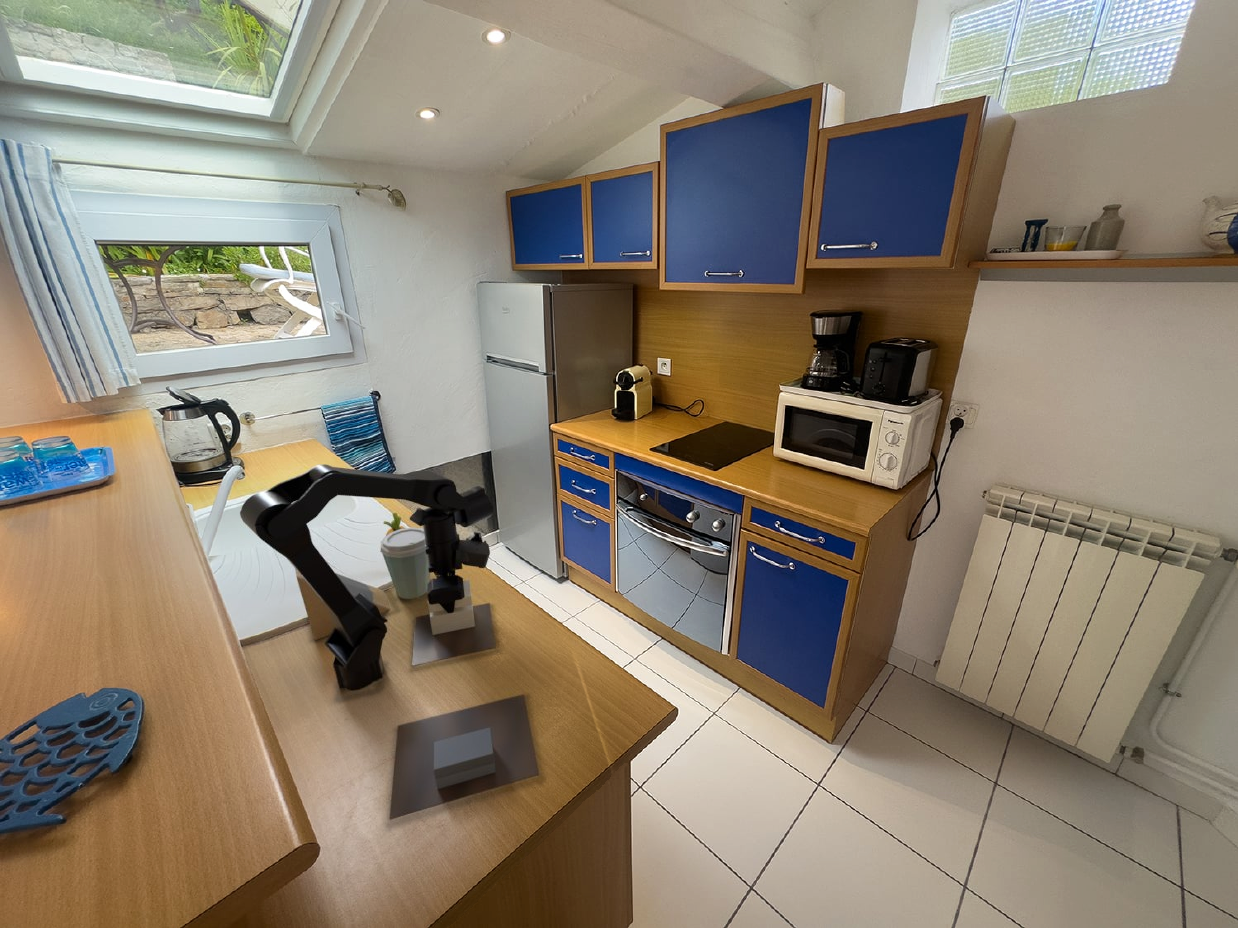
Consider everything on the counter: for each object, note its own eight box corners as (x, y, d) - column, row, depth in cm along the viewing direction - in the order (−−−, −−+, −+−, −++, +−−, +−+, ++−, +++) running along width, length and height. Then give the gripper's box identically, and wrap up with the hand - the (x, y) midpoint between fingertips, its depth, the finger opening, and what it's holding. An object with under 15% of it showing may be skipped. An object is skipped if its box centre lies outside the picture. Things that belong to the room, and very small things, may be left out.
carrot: (407, 577, 116) (397, 521, 110) (388, 574, 117) (377, 519, 111) (419, 565, 121) (410, 511, 115) (400, 562, 121) (391, 509, 116)
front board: (390, 824, 66) (389, 819, 65) (398, 729, 79) (397, 725, 78) (539, 779, 72) (539, 774, 71) (524, 698, 85) (524, 693, 84)
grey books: (437, 789, 69) (433, 770, 67) (437, 760, 73) (433, 741, 71) (495, 772, 71) (493, 753, 70) (492, 745, 75) (490, 726, 74)
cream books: (432, 635, 97) (429, 617, 95) (433, 617, 102) (430, 599, 100) (474, 626, 99) (472, 609, 98) (473, 609, 104) (471, 592, 103)
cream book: (429, 612, 95) (427, 603, 94) (429, 595, 100) (428, 586, 99) (472, 604, 97) (471, 595, 96) (470, 588, 102) (469, 579, 101)
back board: (412, 670, 90) (411, 665, 90) (415, 620, 102) (415, 616, 102) (496, 651, 95) (495, 647, 94) (489, 606, 107) (489, 602, 106)
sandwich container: (397, 611, 105) (385, 551, 99) (314, 641, 96) (296, 577, 91) (387, 591, 111) (375, 533, 105) (309, 617, 103) (292, 556, 97)
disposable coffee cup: (383, 589, 112) (372, 532, 106) (431, 572, 118) (423, 517, 112) (397, 614, 104) (385, 554, 98) (447, 595, 110) (439, 537, 104)
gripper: (489, 555, 87) (496, 625, 93) (481, 508, 103) (487, 570, 109) (422, 565, 84) (433, 638, 90) (425, 515, 100) (434, 579, 106)
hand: (450, 603), depth 99 cm, fingers closed on cream book, 5 cm apart
